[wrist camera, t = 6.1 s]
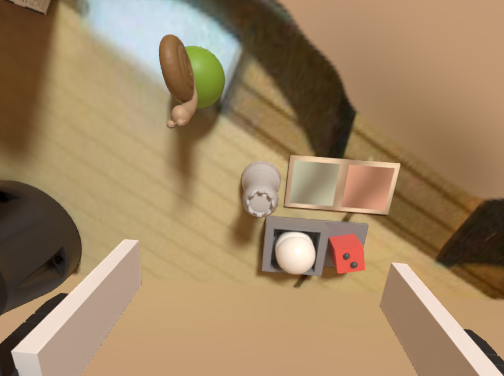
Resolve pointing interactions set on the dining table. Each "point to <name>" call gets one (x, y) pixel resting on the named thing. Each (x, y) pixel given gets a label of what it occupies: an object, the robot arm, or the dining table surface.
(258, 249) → the dining table surface
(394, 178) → the wooden double picture frame
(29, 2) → the candy bar box
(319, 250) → the grey compartment tray
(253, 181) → the rook chess piece
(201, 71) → the snail figurine
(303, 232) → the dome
